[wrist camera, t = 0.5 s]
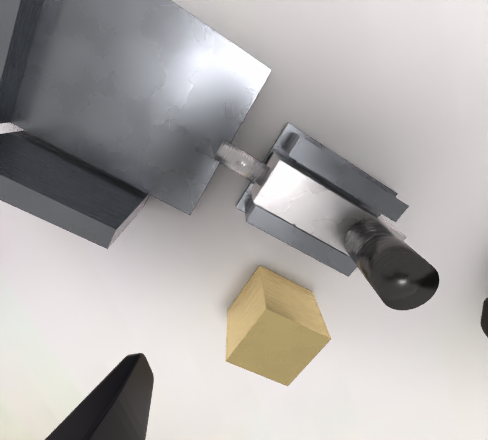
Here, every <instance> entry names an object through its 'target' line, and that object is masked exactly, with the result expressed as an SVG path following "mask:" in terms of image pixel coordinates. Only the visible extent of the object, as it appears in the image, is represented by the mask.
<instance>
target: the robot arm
mask: <svg viewBox="0 0 488 440" xmlns="http://www.w3.org/2000/svg"><path fill="white" fill-rule="evenodd" d="M481 327H482V329H483V331H484V333H485V334H486V336H487V337H488V298H486V299H485V300H484V303H483V310H482V316H481ZM153 382H154V378H153V373H152V370H151V368H150V366H149V364H148V361H147V359H146V357H145V355H144V354H143V353H137V354H131V355H128V356H126V357H125V358H124V359H123V360H122V361H121V362H120V363H119V364H118V365H117V366H116V367H115V368H114V369H113V370H112V371H111V372H110V373H109V374H108V375H107V376H106V377H105V379H104V380H103V381H102V382H101V383H100V384H99V385H98V386H97V387H96V388H95V389H94V390H93V391H92V392H91V393H90V394H89V395H88V396H87V397H86V398H85V399H84V400H83V401H82V402H81V403H80V404H79V405H78V406H77V407H76V408H75V409H74V410H73V411H72V412H71V413H70V414H69V415H68V417H67V418H66V419H65V420H64V421H63V422H62V423H61V424H60V425H59V426H58V427H57V428H56V429H55V430H54V431H53V432H52V433H51V434H50V435H49V436H48V437H47V438H46V439H45V440H145V438H146V431H147V424H148V417H149V410H150V404H151V397H152V390H153Z"/></svg>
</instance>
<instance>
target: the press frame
mask: <svg viewBox="0 0 488 440" xmlns="http://www.w3.org/2000/svg"><path fill="white" fill-rule="evenodd" d="M270 72H271V69H269V68H268V67H267V66H265V65H264V64H262V63H261V62H259V61H258V60H256V59H255V58H253V57H252V56H251V55H249V54H248V53H246V52H245V51H243V50H242V49H240V48H239V47H238V46H236V45H235V44H233V43H232V42H230V41H229V40H227V39H226V38H225V37H223V36H222V35H220V34H219V33H217V32H216V31H214V30H213V29H211V28H210V27H209V26H207V25H206V24H204V23H203V22H201V21H200V20H198V19H197V18H196V17H194V16H193V15H191V14H190V13H188V12H187V11H185V10H184V9H183V8H181V7H180V6H178V5H177V4H175V3H174V2H172V1H171V0H0V123H8V122H11V123H13V124H15V125H17V126H19V127H21V128H23V129H24V130H25V131H18V132H11V133H4V134H0V200H2V201H4V202H6V203H8V204H10V205H13V206H15V207H17V208H19V209H21V210H24V211H26V212H28V213H30V214H32V215H34V216H37V217H39V218H41V219H43V220H45V221H48V222H50V223H52V224H54V225H56V226H59V227H61V228H63V229H65V230H67V231H70V232H72V233H74V234H76V235H78V236H81V237H83V238H85V239H87V240H89V241H91V242H94V243H96V244H98V245H100V246H102V247H105V248H107V249H108V248H109V246H110V245H111V244H112V243H113V242H114V241H115V239H116V238H117V237H118V236H119V235H120V234H121V232H122V231H123V230H124V229H125V228H126V227H127V225H128V224H129V223H130V222H131V221H132V220H133V218H134V217H135V216H136V215H137V214H138V213H139V212H140V210H141V209H142V208H143V207H144V205H145V203H146V201H147V199H148V197H149V195H152V196H154V197H156V198H158V199H160V200H162V201H164V202H166V203H167V204H169V205H171V206H173V207H175V208H177V209H179V210H181V211H183V212H185V213H187V214H189V215H190V214H191V213H192V211H193V209H194V207H195V206H196V204H197V202H198V200H199V198H200V197H201V195H202V193H203V191H204V190H205V188H206V186H207V184H208V182H209V181H210V179H211V177H212V175H213V174H214V172H215V170H216V168H217V166H218V165H219V163H220V162H218V161H216V160H214V159H213V158H214V156H215V154H216V152H217V150H218V149H219V147H220V145H221V143H222V141H223V140H225V141H227V142H229V143H231V141H232V140H233V138H234V136H235V134H236V133H237V131H238V129H239V127H240V125H241V124H242V122H243V120H244V118H245V117H246V115H247V113H248V111H249V109H250V108H251V106H252V104H253V102H254V101H255V99H256V97H257V95H258V93H259V92H260V90H261V88H262V86H263V84H264V83H265V81H266V79H267V77H268V76H269V74H270ZM274 152H275V153H276V154H278V155H280V156H281V157H283V158H285V159H286V160H288V161H289V162H291V163H293V164H294V165H296V166H297V167H299V168H301V169H302V170H304V171H306V172H307V173H309V174H310V175H312V176H314V177H315V178H317V179H319V180H320V181H322V182H323V183H325V184H327V185H328V186H330V187H332V188H333V189H335V190H336V191H338V192H340V193H341V194H343V195H345V196H346V197H348V198H349V199H351V200H353V201H354V202H356V203H358V204H359V205H361V206H362V207H364V208H366V209H367V210H369V211H371V212H372V213H374V214H375V215H377V216H380V215H381V213H382V214H383V215H385V216H386V217H388V218H390V219H391V220H393V221H395V222H396V221H397V219H398V218H399V217H400V216H401V215H402V214H403V212H404V211H405V210H406V209H407V208H408V207H409V206H408V205H406V204H405V203H403V202H402V201H400V200H399V199H397V198H395V197H396V195H397V193H395V192H394V191H392V190H391V189H389V188H388V187H386V186H385V185H383V184H382V183H380V182H378V181H377V180H375V179H374V178H372V177H371V176H369V175H368V174H366V173H365V172H363V171H362V170H360V169H358V168H357V167H355V166H354V165H352V164H351V163H349V162H348V161H346V160H345V159H343V158H342V157H340V156H339V155H337V154H335V153H334V152H332V151H331V150H329V149H328V148H326V147H325V146H323V145H322V144H320V143H319V142H317V141H316V140H314V139H312V138H311V137H309V136H308V135H306V134H305V133H303V132H302V131H300V130H299V129H297V128H296V127H294V126H293V125H291V124H289V123H287V124H286V126H285V128H284V129H283V131H282V132H281V134H280V136H279V137H278V139H277V141H276V142H275V144H274V145H273V147H272V149H271V150H270V152H269V154H268V155H267V157H266V158H265V160H264V162H263V163H264V164H265V165H267V163H268V161H269V160H270V158H271V157H272V155H273V153H274ZM254 184H255V183H254V182H252V181H251V183H250V184H249V186H248V187H247V189H246V191H245V192H244V194H243V196H242V197H241V199H240V200H239V202H238V204H237V205H236V208H237V209H239V210H241V211H243V212H245V217H246V222H248V223H250V224H251V225H253V226H255V227H257V228H259V229H261V230H263V231H264V232H266V233H268V234H270V235H272V236H274V237H276V238H277V239H279V240H281V241H283V242H285V243H287V244H289V245H290V246H292V247H294V248H296V249H298V250H300V251H302V252H303V253H305V254H307V255H309V256H311V257H313V258H315V259H316V260H318V261H320V262H322V263H324V264H326V265H328V266H329V267H331V268H333V269H335V270H337V271H339V272H341V273H343V274H344V275H346V276H348V277H349V275H350V274H351V273H352V272H353V271H354V270H355V268H356V267H357V265H356V264H355V263H354V261H353V260H352V259H351V257H350V256H349V255H347V254H345V253H343V252H341V251H340V250H338V249H336V248H334V247H332V246H331V245H329V244H327V243H325V242H323V241H322V240H320V239H318V238H316V237H315V236H313V235H311V234H309V233H307V232H306V231H304V230H302V229H300V228H298V227H297V226H295V225H293V224H291V223H289V222H288V221H286V220H284V219H282V218H281V217H279V216H277V215H275V214H273V213H272V212H270V211H268V210H266V209H264V208H263V207H261V206H259V205H257V204H255V203H254V202H253V199H252V193H251V189H252V187H253V185H254Z"/></svg>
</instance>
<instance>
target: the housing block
mask: <svg viewBox="0 0 488 440" xmlns="http://www.w3.org/2000/svg"><path fill="white" fill-rule="evenodd" d="M330 340H331V337H330V335H329V332H328V330H327V327H326V325H325V322H324V320H323V317H322V315H321V312H320V310H319V307H318V305H317V302H316V300H315V297H314V295H313V293H312V291H310V290H308V289H306V288H304V287H302V286H300V285H298V284H296V283H294V282H292V281H290V280H288V279H286V278H284V277H282V276H280V275H278V274H276V273H274V272H272V271H270V270H268V269H266V268H264V267H262V266H259V267H258V268H257V270H256V271H255V273H254V274H253V275H252V277H251V278H250V280H249V281H248V282H247V284H246V285H245V287H244V288H243V289H242V291H241V292H240V294H239V295H238V297H237V298H236V299H235V301H234V302H233V304H232V305H231V306H230V308H229V309H228V311H227V338H226V361H227V362H229V363H232V364H234V365H236V366H239V367H241V368H244V369H246V370H249V371H251V372H254V373H256V374H259V375H261V376H264V377H266V378H269V379H271V380H274V381H276V382H279V383H281V384H284V385H286V386H288V385H289V384H290V383H291V382H292V381H293V380H294V379H295V378H296V377H297V376H298V375H299V373H300V372H301V371H302V370H303V369H304V368H305V367H306V366H307V365H308V364H309V363H310V361H311V360H312V359H313V358H314V357H315V356H316V355H317V354H318V353H319V352H320V351H321V349H322V348H323V347H324V346H325V345H326V344H327V343H328V342H329V341H330Z"/></svg>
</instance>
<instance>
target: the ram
mask: <svg viewBox="0 0 488 440" xmlns="http://www.w3.org/2000/svg"><path fill="white" fill-rule="evenodd" d="M213 159H214V160H216V161H218V162H220V163H221V164H223V165H225V166H226V167H228V168H230V169H232V170H233V171H235V172H237V173H239V174H240V175H242V176H244V177H245V178H247V179H249V180H251V181H252V182H254V183H255V184H254V185H253V187H252V189H251V193H252V199H253V202H254V203H255V204H257V205H259V206H261V207H263V208H264V209H266V210H268V211H270V212H272V213H273V214H275V215H277V216H279V217H281V218H282V219H284V220H286V221H288V222H289V223H291V224H293V225H295V226H297V227H298V228H300V229H302V230H304V231H306V232H307V233H309V234H311V235H313V236H315V237H316V238H318V239H320V240H322V241H323V242H325V243H327V244H329V245H331V246H332V247H334V248H336V249H338V250H340V251H341V252H343V253H345V254H347V255H349V256H350V257H351V259H352V260H353V261H354V263H355V264H356V265H357V267H358V268H359V269H360V271H361V272H362V274H363V275H364V276H365V278H366V279H367V280H368V282H369V283H370V285H371V286H372V287H373V289H374V290H375V291H376V293H377V294H378V295H379V297H380V298H381V300H382V301H383V302H384V303H385V304H386V305H387V306H388V307H390V308H392V309H396V310H409V309H413V308H416V307H419V306H421V305H422V304H424V303H426V302H427V301H428V300H429V299H430V298H431V297H432V296H433V295H434V294H435V292H436V290H437V288H438V285H439V275H438V272H437V271H436V269H435V268H434V267H433V266H432V265H430V264H429V263H428V262H427V261H426V260H425V259H423V258H422V257H421V256H420V255H419V254H417V253H416V252H415V251H414V250H413V249H412V248H410V247H409V246H408V245H407V244H406V243H404V242H403V240H404V239H405V238H406V237H405V236H404V235H403V234H402V233H400V232H399V231H398V230H397V229H395V228H394V227H393V226H392V225H390V224H389V223H388V222H387V221H385V220H384V219H382V218H380V217H379V216H377V215H375V214H374V213H372V212H371V211H369V210H367V209H366V208H364V207H362V206H361V205H359V204H358V203H356V202H354V201H353V200H351V199H349V198H348V197H346V196H345V195H343V194H341V193H340V192H338V191H336V190H335V189H333V188H332V187H330V186H328V185H327V184H325V183H323V182H322V181H320V180H319V179H317V178H315V177H314V176H312V175H310V174H309V173H307V172H306V171H304V170H302V169H301V168H299V167H297V166H296V165H294V164H293V163H291V162H289V161H288V160H286V159H285V158H283V157H281V156H280V155H278V154H276V153H275V152H274V153H273V155H272V157H271V158H270V160H269V161H268V163H267V165H265V164H264V163H262V162H260V161H259V160H257V159H255V158H254V157H252V156H250V155H249V154H247V153H245V152H244V151H242V150H240V149H239V148H237V147H235V146H234V145H232V144H230V143H229V142H227V141H225V140H223V141H222V143H221V145H220V147H219V149H218V150H217V152H216V154H215V156H214V158H213Z"/></svg>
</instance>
